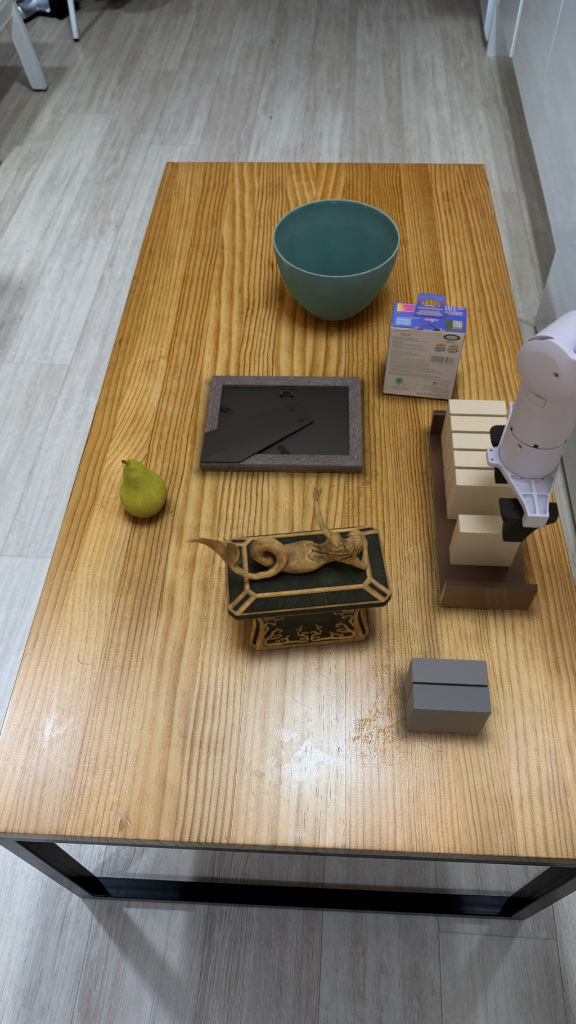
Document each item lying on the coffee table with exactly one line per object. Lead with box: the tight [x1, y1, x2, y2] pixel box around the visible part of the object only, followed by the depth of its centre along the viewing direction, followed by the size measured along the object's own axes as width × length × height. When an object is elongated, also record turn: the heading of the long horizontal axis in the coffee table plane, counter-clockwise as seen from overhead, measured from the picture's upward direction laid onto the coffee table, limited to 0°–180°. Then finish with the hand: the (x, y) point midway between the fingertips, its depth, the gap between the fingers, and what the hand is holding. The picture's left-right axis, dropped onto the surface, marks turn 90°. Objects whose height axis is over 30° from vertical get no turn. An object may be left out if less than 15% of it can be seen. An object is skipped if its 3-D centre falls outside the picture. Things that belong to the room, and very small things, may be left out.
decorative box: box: [185, 484, 393, 651], centre depth 78 cm, size 20×10×20 cm, turn 95°
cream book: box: [449, 515, 521, 567], centre depth 86 cm, size 2×7×7 cm, turn 87°
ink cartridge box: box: [382, 292, 468, 401], centre depth 100 cm, size 10×6×14 cm, turn 81°
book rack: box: [428, 409, 539, 611], centre depth 91 cm, size 26×10×5 cm, turn 177°
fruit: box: [119, 458, 168, 519], centre depth 90 cm, size 6×6×12 cm
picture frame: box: [199, 375, 364, 474], centre depth 101 cm, size 16×2×21 cm
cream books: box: [441, 398, 516, 519], centre depth 93 cm, size 14×7×7 cm, turn 177°
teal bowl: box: [272, 198, 401, 322], centre depth 112 cm, size 18×18×12 cm
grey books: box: [404, 657, 492, 736], centre depth 76 cm, size 5×8×6 cm
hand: (508, 509), depth 81 cm, fingers open, 7 cm apart
